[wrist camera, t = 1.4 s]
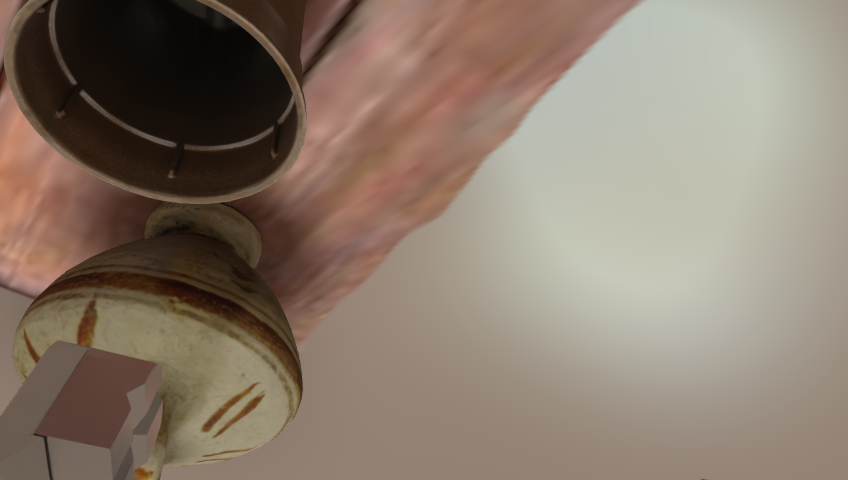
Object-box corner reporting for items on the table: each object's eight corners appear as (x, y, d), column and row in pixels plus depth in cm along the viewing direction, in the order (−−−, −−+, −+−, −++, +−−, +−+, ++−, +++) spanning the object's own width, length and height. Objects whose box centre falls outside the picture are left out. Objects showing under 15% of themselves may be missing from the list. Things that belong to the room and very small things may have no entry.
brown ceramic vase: (282, 127, 67) (159, 437, 46) (367, 308, 82) (304, 601, 61) (51, 163, 73) (-153, 451, 52) (171, 325, 89) (52, 597, 68)
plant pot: (242, 86, 63) (196, 241, 52) (53, -55, 54) (-49, 96, 43) (387, -38, 54) (366, 117, 43) (187, -231, 45) (101, -95, 35)
